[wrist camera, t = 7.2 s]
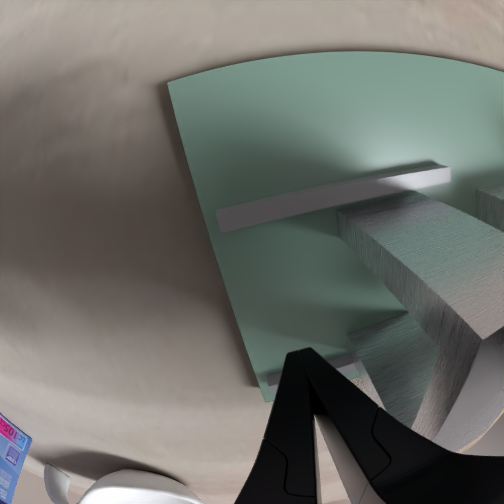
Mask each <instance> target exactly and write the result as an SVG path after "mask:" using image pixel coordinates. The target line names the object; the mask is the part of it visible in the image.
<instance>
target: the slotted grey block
mask: <svg viewBox="0 0 504 504" xmlns="http://www.w3.org/2000/svg"><path fill="white" fill-rule="evenodd" d="M475 218H476V219H478V220H480V221H482V222H484V223H486V224H488V225H490V226H492V227H494V228H496V229H498V230H500V231H501V232H503V233H504V183H501V184H497V185H492V186H488V187H483V188H478V189H476V201H475Z"/></svg>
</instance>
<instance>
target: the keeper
mask: <svg viewBox="0 0 504 504" xmlns="http://www.w3.org/2000/svg"><path fill="white" fill-rule="evenodd" d="M335 210H336V217H337V225H338V233H339V238H340V239H341V240H342V241H343V242H344V243H345V244H346V245H347V246H348V247H349V248H350V249H351V250H352V251H353V252H354V253H355V254H356V255H357V256H358V257H359V259H360V260H361V261H362V262H363V263H364V264H365V265H366V266H367V267H368V268H369V269H370V270H371V271H372V272H373V273H374V274H375V275H376V277H377V278H378V279H379V280H380V281H381V282H382V283H383V284H384V285H385V286H386V287H387V289H388V290H389V291H390V292H391V293H392V294H393V295H394V296H395V298H396V299H397V300H398V301H399V302H400V303H401V304H402V305H403V307H404V308H405V309H406V310H407V311H408V312H405V313H403V314H400V315H397V316H395V317H392V318H389V319H386V320H384V321H381V322H378V323H375V324H372V325H369V326H366V327H363V328H360V329H357V330H354V331H351V332H348V333H346V343H347V351H348V353H349V355H350V357H351V359H352V361H353V363H354V365H355V367H356V369H357V372H358V374H359V376H360V378H361V380H362V382H363V384H364V386H365V388H366V390H367V392H368V394H369V397H370V398H371V399H372V400H373V401H374V402H376V403H377V404H378V405H379V407H382V408H383V409H384V410H385V411H387V412H388V413H389V414H390V415H392V416H393V417H394V418H396V419H397V420H398V421H400V422H401V423H402V424H404V425H406V426H407V427H409V428H410V429H412V430H413V431H415V432H417V433H419V434H420V435H422V436H424V437H425V438H427V439H429V440H431V441H432V442H434V443H436V444H438V445H440V446H441V447H443V448H445V449H447V450H449V451H452V452H456V451H458V450H460V449H461V448H463V447H464V446H466V445H467V444H469V443H470V442H472V441H473V440H475V439H476V438H478V437H479V436H480V435H482V434H483V433H485V432H486V431H487V429H488V428H489V427H490V426H491V424H492V423H493V422H494V420H495V419H496V418H497V416H498V415H499V414H500V412H501V411H502V409H503V408H504V233H503V232H501V231H500V230H498V229H496V228H494V227H492V226H490V225H488V224H486V223H484V222H482V221H480V220H478V219H476V218H474V217H472V216H470V215H468V214H466V213H464V212H462V211H460V210H458V209H456V208H453V207H451V206H449V205H447V204H444V203H442V202H440V201H438V200H435V199H433V198H431V197H428V196H426V195H423V194H421V193H418V192H412V193H407V194H402V195H397V196H393V197H388V198H383V199H379V200H374V201H370V202H365V203H360V204H356V205H351V206H347V207H343V208H338V209H335Z"/></svg>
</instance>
